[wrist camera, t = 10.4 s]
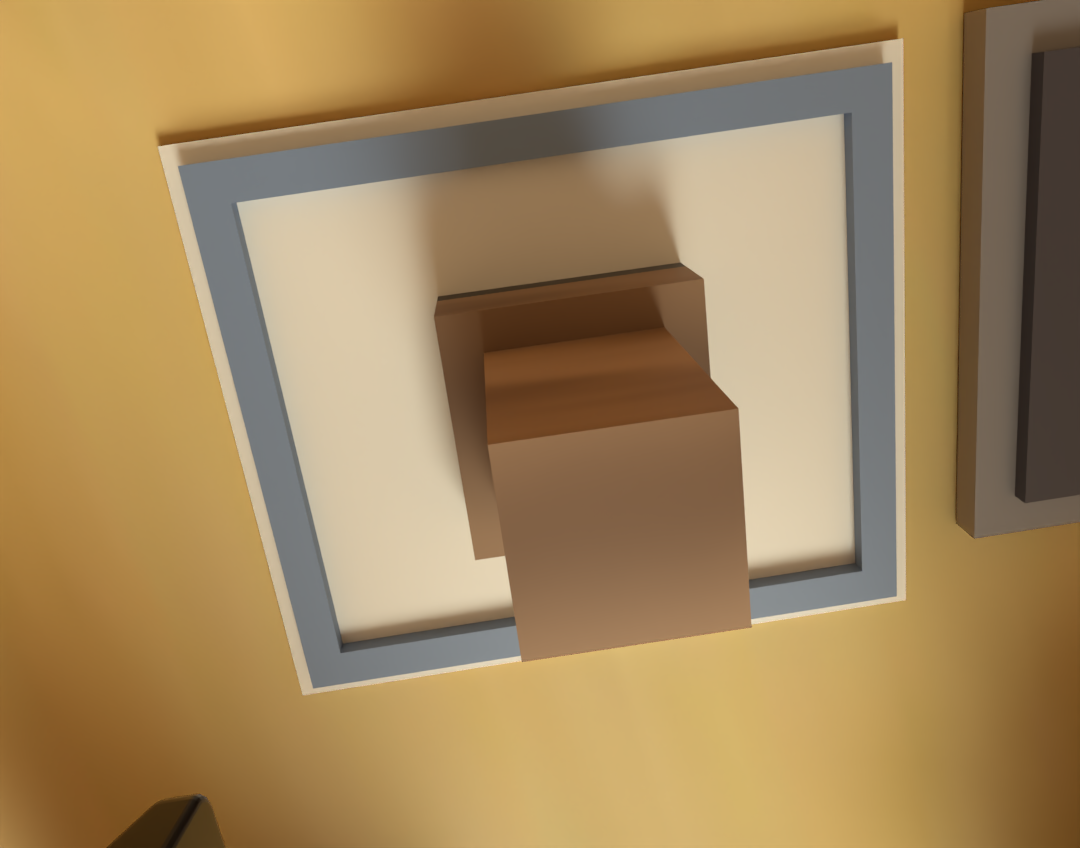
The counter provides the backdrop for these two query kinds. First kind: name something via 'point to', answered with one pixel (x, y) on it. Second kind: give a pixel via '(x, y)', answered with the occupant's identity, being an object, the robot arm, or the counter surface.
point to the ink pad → (1020, 270)
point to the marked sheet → (537, 256)
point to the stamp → (599, 457)
